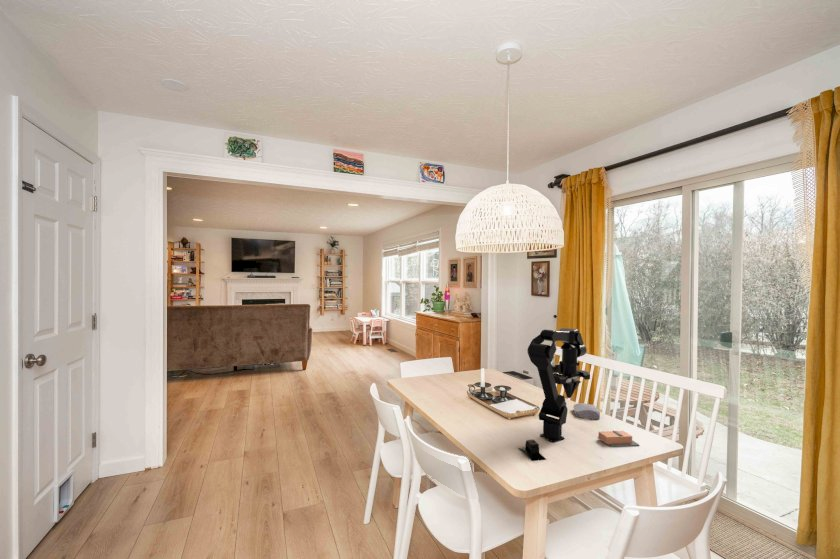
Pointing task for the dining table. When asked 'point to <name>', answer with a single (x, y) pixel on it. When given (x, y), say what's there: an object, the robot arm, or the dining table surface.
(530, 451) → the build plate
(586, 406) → the stone block
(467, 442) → the dining table surface
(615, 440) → the terracotta block
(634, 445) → the charcoal mat
